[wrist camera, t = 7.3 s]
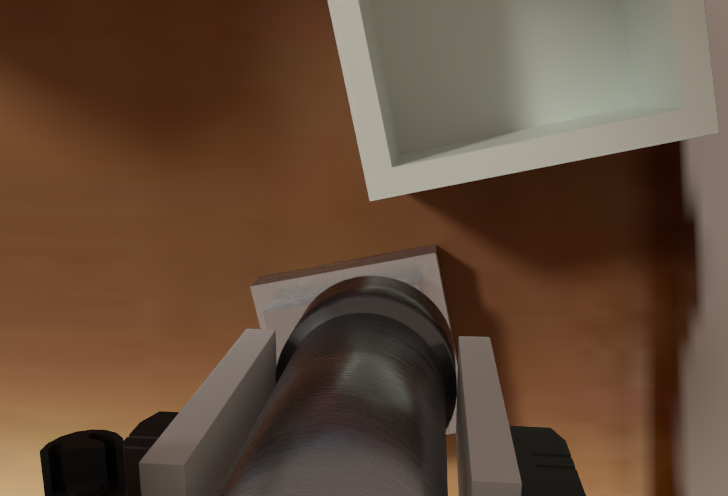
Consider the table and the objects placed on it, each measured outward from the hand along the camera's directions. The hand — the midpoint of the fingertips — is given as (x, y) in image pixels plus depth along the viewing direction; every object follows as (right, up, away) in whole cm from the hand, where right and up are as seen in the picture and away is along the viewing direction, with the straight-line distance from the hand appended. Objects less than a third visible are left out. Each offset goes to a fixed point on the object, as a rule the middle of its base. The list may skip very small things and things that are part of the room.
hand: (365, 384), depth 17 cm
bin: (+6, +15, +17) cm, 24 cm away
